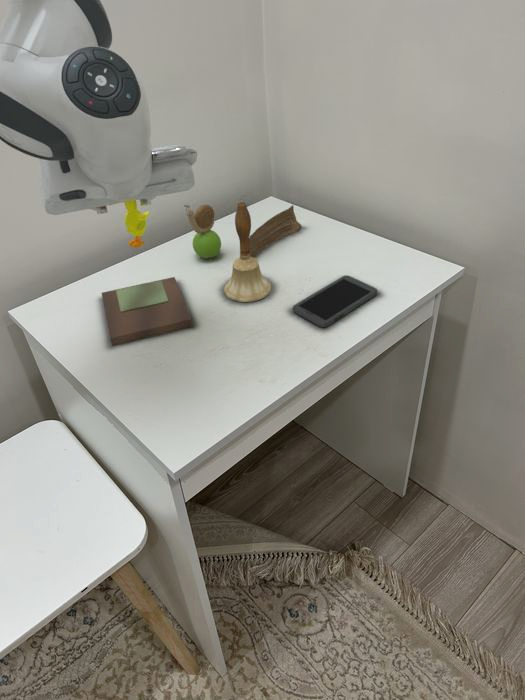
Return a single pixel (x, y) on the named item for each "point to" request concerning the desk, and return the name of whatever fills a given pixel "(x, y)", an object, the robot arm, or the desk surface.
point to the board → (145, 311)
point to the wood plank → (273, 230)
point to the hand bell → (246, 265)
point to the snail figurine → (204, 231)
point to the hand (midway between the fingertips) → (123, 204)
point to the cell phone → (334, 301)
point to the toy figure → (135, 223)
